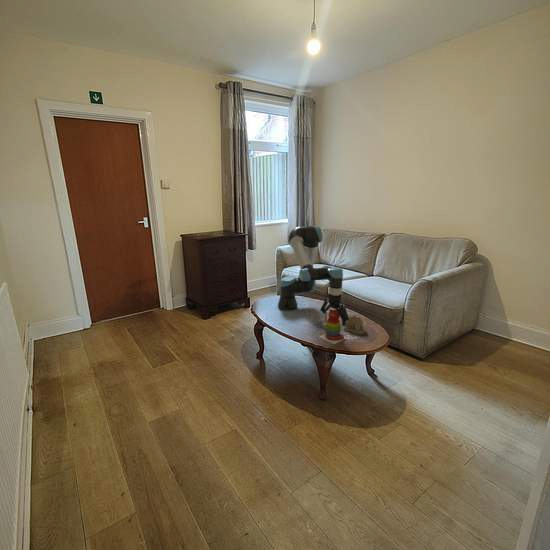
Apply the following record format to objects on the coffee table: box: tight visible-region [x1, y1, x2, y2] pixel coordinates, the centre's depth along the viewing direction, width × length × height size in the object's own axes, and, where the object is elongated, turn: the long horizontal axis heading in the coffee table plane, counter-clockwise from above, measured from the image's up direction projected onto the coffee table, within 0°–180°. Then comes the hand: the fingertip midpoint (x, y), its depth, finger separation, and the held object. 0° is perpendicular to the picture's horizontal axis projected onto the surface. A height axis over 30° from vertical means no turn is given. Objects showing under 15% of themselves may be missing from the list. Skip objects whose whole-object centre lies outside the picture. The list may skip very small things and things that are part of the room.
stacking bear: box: [325, 308, 345, 340], centre depth 191 cm, size 11×10×18 cm
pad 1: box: [313, 319, 326, 331], centre depth 211 cm, size 12×12×1 cm
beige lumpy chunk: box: [343, 315, 366, 335], centre depth 203 cm, size 14×11×10 cm
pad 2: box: [318, 333, 348, 345], centre depth 193 cm, size 12×12×1 cm
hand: (333, 326), depth 191 cm, fingers open, 13 cm apart
